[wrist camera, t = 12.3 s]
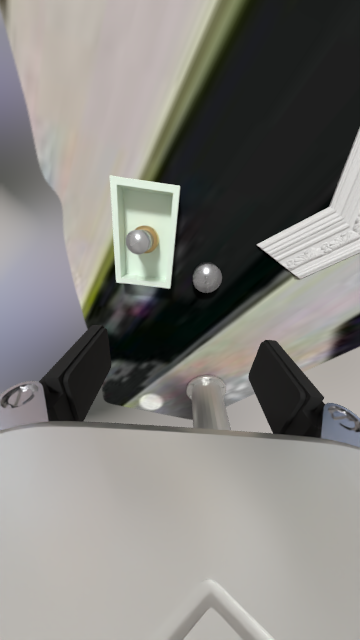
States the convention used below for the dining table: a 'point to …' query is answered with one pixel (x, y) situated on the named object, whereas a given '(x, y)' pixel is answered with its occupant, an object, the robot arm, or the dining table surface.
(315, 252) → the crown molding
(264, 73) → the dining table surface
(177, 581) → the robot arm
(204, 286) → the silver metal dome
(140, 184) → the bin
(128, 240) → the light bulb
